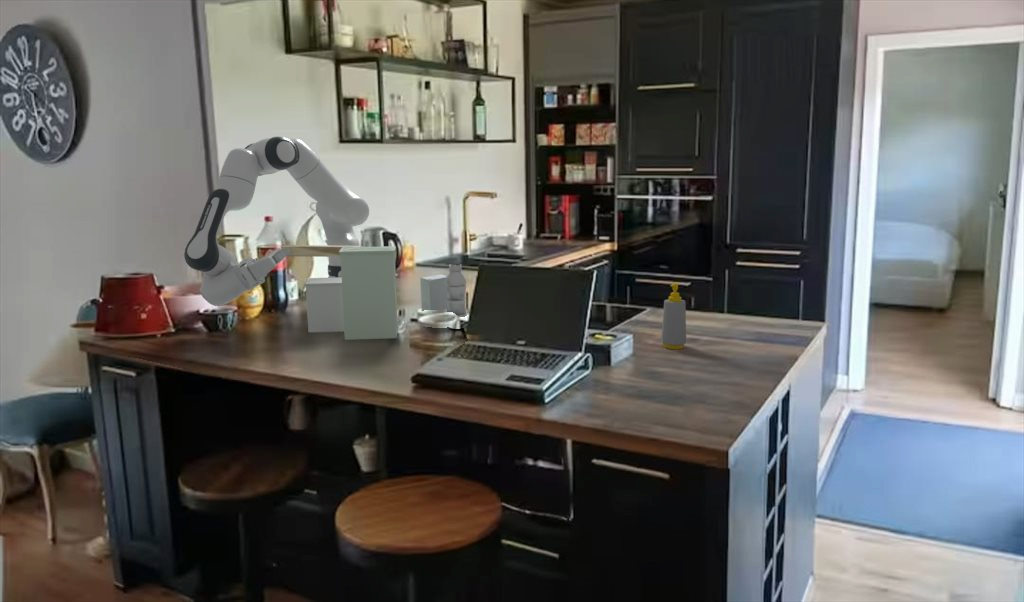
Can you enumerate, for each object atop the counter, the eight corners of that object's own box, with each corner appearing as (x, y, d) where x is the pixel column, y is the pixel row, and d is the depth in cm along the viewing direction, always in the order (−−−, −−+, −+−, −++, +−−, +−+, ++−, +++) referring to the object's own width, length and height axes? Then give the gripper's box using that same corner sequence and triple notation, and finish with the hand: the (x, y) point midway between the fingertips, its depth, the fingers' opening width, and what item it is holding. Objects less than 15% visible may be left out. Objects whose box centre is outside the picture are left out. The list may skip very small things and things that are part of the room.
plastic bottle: (467, 331, 242) (465, 266, 238) (444, 331, 242) (443, 266, 239) (468, 326, 249) (467, 263, 245) (446, 327, 249) (445, 263, 245)
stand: (346, 332, 243) (342, 247, 238) (398, 330, 244) (395, 246, 239) (343, 340, 233) (339, 251, 228) (397, 338, 235) (394, 250, 230)
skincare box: (442, 318, 261) (441, 273, 258) (453, 321, 256) (452, 276, 253) (420, 322, 255) (419, 276, 252) (431, 325, 251) (429, 279, 248)
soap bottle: (657, 348, 221) (659, 284, 217) (665, 342, 227) (666, 280, 223) (682, 350, 217) (684, 285, 214) (689, 345, 223) (691, 281, 220)
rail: (282, 254, 244) (282, 245, 243) (362, 255, 247) (362, 245, 246) (281, 256, 241) (280, 246, 241) (362, 256, 244) (361, 247, 243)
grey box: (312, 325, 253) (309, 278, 250) (352, 324, 254) (350, 277, 251) (307, 332, 243) (304, 283, 240) (349, 331, 244) (346, 282, 241)
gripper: (264, 275, 253) (301, 252, 253) (250, 287, 234) (291, 263, 233) (253, 258, 252) (290, 235, 252) (238, 268, 232) (279, 244, 232)
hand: (291, 249), depth 242 cm, fingers closed on rail, 3 cm apart
